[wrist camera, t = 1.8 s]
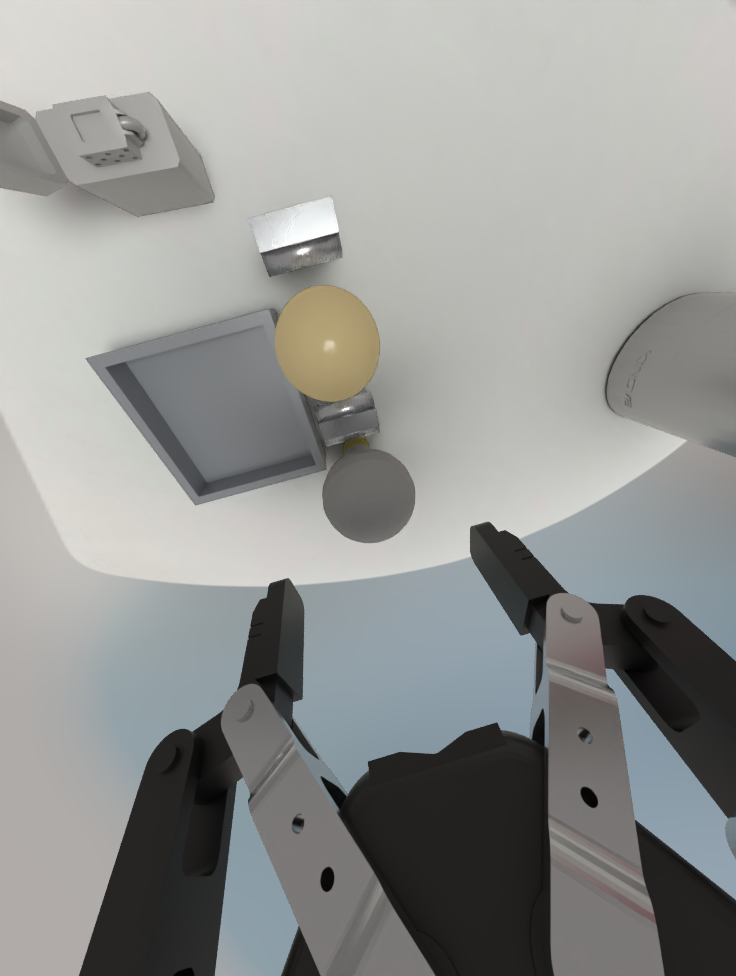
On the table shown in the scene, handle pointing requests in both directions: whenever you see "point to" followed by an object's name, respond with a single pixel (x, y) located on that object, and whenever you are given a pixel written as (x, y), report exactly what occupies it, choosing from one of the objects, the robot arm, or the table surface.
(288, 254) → the clip block
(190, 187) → the lighter
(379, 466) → the light bulb
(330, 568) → the table surface
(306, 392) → the cream domed cylinder
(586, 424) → the table surface
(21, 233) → the table surface
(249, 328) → the tray
